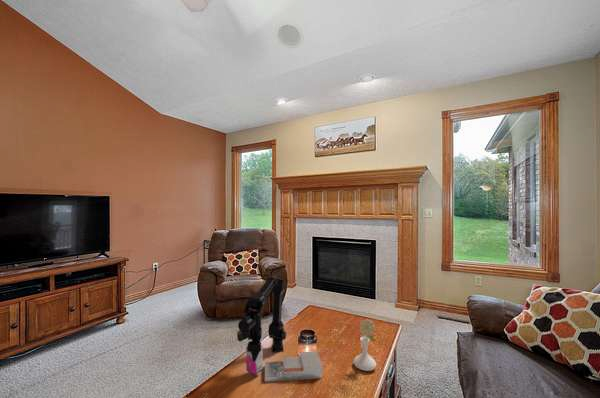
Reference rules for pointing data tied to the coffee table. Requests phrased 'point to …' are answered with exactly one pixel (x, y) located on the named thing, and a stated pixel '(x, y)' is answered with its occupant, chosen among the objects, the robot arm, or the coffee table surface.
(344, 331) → the coffee table surface
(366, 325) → the flower in vase
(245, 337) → the robot arm
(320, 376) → the step stand
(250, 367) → the supplement box
